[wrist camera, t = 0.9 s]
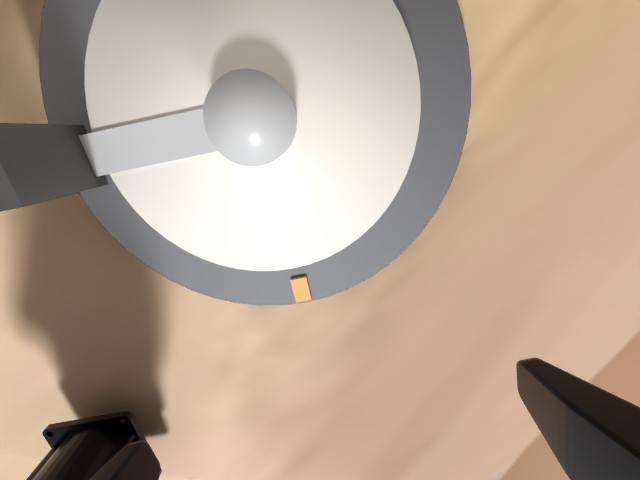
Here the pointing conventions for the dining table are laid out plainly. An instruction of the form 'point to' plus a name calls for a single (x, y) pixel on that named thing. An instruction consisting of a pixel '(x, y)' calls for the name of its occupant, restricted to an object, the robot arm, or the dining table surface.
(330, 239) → the dial
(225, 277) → the dial base
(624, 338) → the dining table surface
